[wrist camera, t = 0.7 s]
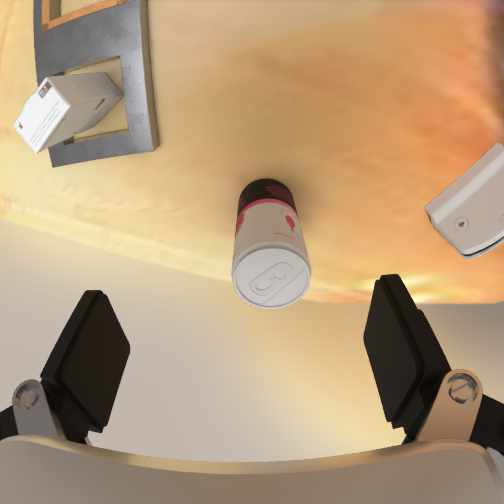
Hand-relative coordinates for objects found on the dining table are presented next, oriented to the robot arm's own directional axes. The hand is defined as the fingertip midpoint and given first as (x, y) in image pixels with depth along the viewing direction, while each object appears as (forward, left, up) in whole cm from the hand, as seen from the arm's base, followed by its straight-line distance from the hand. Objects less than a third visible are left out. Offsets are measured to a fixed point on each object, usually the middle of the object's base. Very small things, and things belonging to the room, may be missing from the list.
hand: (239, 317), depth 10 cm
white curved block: (+6, +32, -28) cm, 42 cm away
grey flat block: (-15, -17, -27) cm, 35 cm away
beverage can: (+8, +2, -27) cm, 29 cm away
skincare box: (-7, -17, -27) cm, 33 cm away
